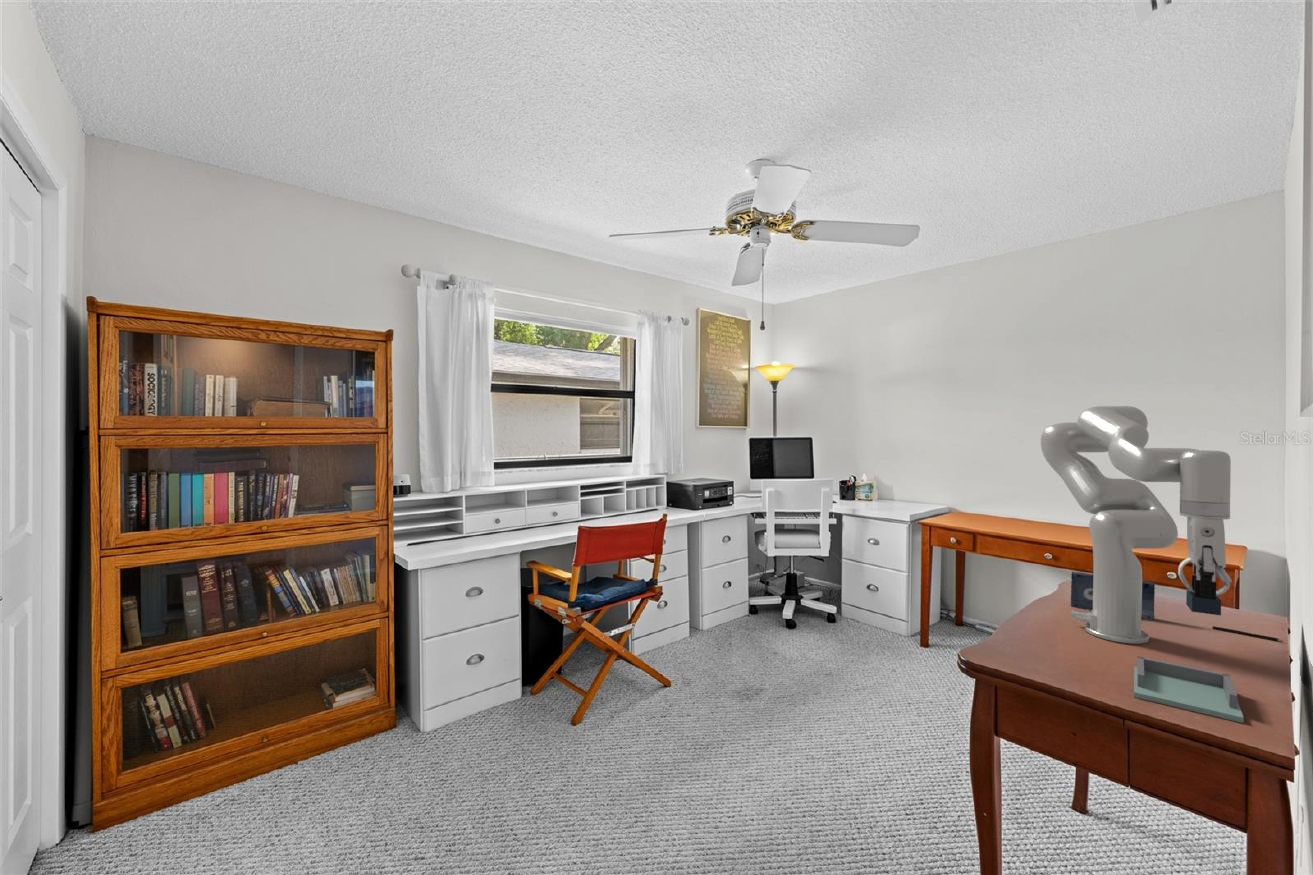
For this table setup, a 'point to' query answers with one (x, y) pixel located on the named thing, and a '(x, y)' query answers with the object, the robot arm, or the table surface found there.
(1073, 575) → the vhs cassette tape
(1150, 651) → the table surface
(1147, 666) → the shallow grey tray
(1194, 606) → the watch
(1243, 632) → the black pen
